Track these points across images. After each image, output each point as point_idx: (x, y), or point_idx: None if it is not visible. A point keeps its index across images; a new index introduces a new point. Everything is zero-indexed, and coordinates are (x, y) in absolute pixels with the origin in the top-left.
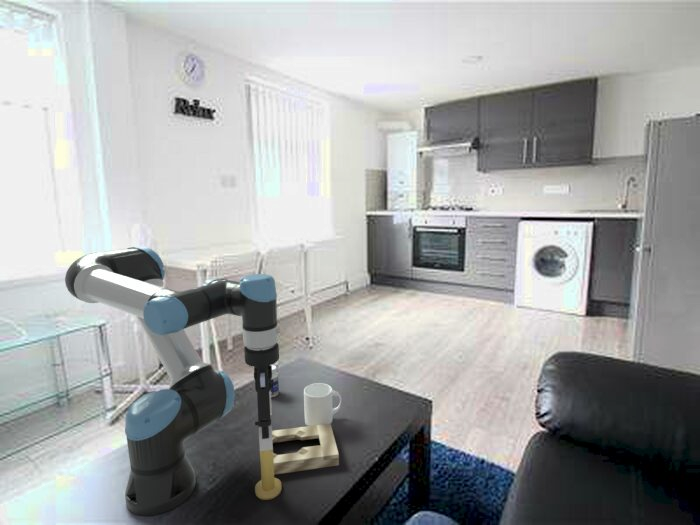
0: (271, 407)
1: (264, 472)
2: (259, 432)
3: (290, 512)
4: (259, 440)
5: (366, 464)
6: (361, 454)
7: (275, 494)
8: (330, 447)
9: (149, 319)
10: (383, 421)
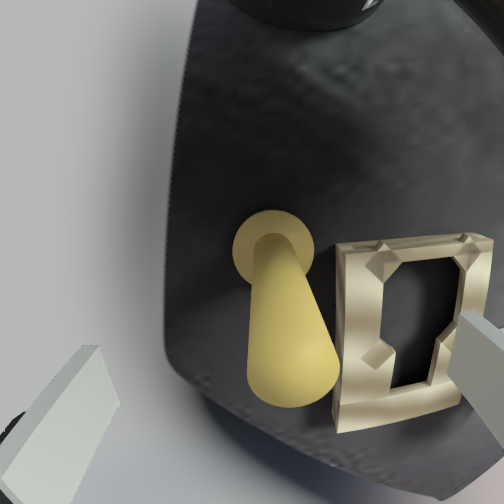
0: (470, 402)
1: (254, 264)
2: (20, 423)
3: (184, 310)
4: (50, 383)
5: (318, 453)
6: (352, 446)
7: (241, 273)
8: (370, 416)
9: None
10: (431, 466)
